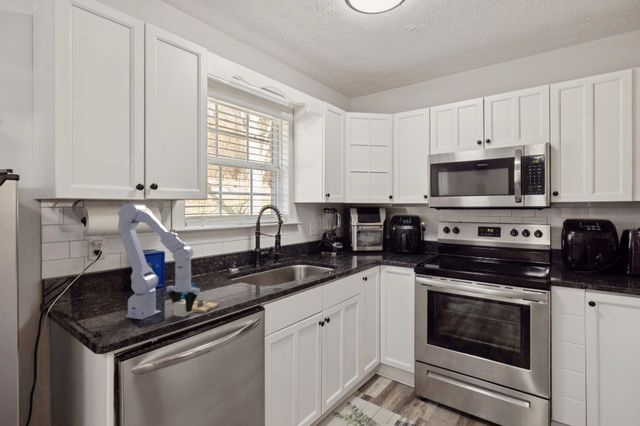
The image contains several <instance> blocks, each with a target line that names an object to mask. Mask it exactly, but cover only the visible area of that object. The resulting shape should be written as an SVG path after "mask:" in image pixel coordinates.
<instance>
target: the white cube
mask: <svg viewBox="0 0 640 426" xmlns="http://www.w3.org/2000/svg"><path fill="white" fill-rule="evenodd" d="M191 313H192V314H193V313H194V312H193V306H192V311H190V312H187V311H186V301H185V298H183V299H182V300H179V301H177V302H174V305H173V316H175V317H183V318H185V317H186V316H189V315H192V314H191Z"/></svg>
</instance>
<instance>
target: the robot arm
mask: <svg viewBox="0 0 640 426" xmlns="http://www.w3.org/2000/svg"><path fill="white" fill-rule="evenodd" d="M117 215H118V224H117V229H118V233H119V235H120V236H119V237H120V239H121V241H122V244H123V248H124V250H125V253H126V256H127V258H128V260H129V264H130V266H131V269H132V273H131V275H130V279H131V284H130V285H131V289H132V291H133V292H134V294H132V295H131V296H130V297H129V298H128V300H127V315H126V316H125V317H126V318H131V319H137V320H144V319H146V318H149V317H152V316H154V315H156V314H160V313H161V312H162V311H161V310H157V309H156V307H157V306H156V304H157V303H156V299H157V296H156V286H158V284H159V277H158V275H156V274H155V272H154V271H153V268H151V267H150V266H149V265H148V262H147V260H146V256H145V254H144V250H143V248H142V245H141V243H140V239H139V237H138V233H137V231H136V228H137V226H138V225H139V223H144V224H146V225H147V226H148V227H149V228H150V229H151V230H153V232H154V233H156V234H157V235H158V236H159V237H160V243H161V244H162V245H164V247H165V248H166V249H167V250H168V251H169V252H170V253H171V254H172V258H173V260H174V261H175V262H174V263H175V265H174V266H175V267H174V269H175V270H174V271H175V272H174V273H175V275H174V277H175V282H174V283H175V285H167V286H166V292H169V293H168V297H169V298H170V299H171V302H172V304H173V306H174V302H177V301H179V300H181V297H183V296H182V293H188V294H186V295H184V298H183V299H184V300H185V301H186V311H187V312H190V311H192V306H193V303H194V302H195V300H196V298H197V297H198V295H199V294H201V288H198V287H197V288H195V287H194V286H191V284H192V264H191V263H192V259H191V258H192V257H193V254H194V251H193V249H192V247H191V245H187V243H186V242H183V241H182V240H181V239H180V238H179V236H178V233H176V232H173V231H168V229H166V227H164V226H163V224H162V223H161V222H160V221H159V219H158V218H157V217H156V216H155V215H154V214H153V211H152V210H151V209H150V208H148V207H147V205H146V204H143V203H125V204H123V205H122V206H121V207H120V209H118V211H117ZM196 296H197V297H196Z"/></svg>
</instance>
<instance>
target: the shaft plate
mask: <svg viewBox="0 0 640 426" xmlns="http://www.w3.org/2000/svg"><path fill="white" fill-rule="evenodd" d="M220 305H221V304H220V303H218V302H209V301H204V299H203V298H198V299H197V300H196V301H195V300H194V303H193V313H194V312H195V313H202V314H206V313H208V312H209V311H212V310H213V309H216V308H218V307H220Z"/></svg>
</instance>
